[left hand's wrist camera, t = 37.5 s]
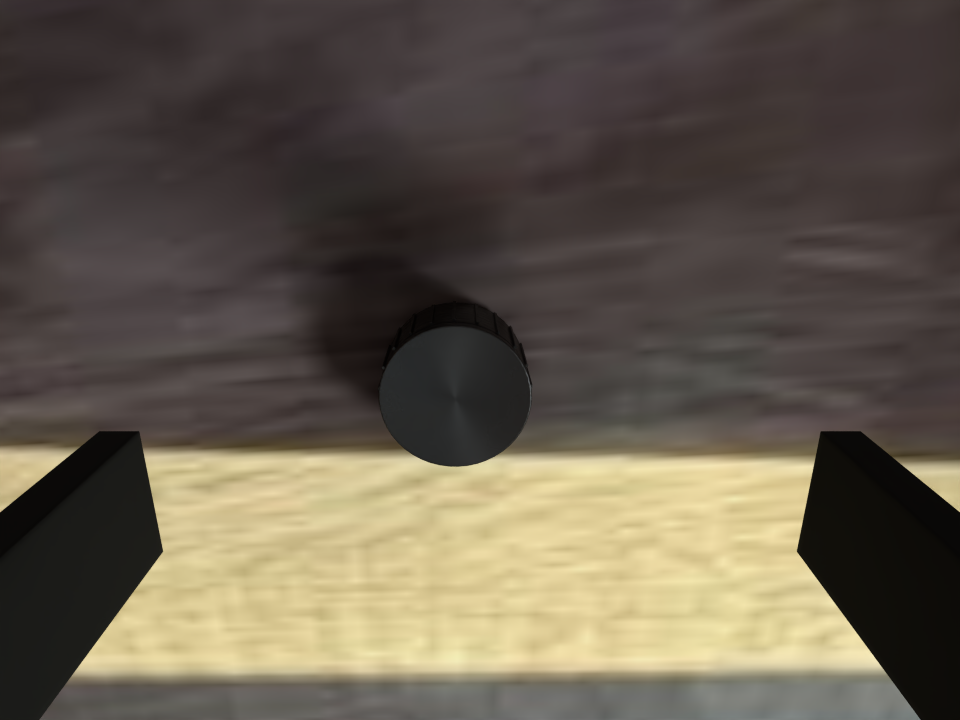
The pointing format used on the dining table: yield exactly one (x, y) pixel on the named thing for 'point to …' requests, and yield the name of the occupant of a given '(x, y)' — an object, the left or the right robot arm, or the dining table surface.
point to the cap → (455, 385)
